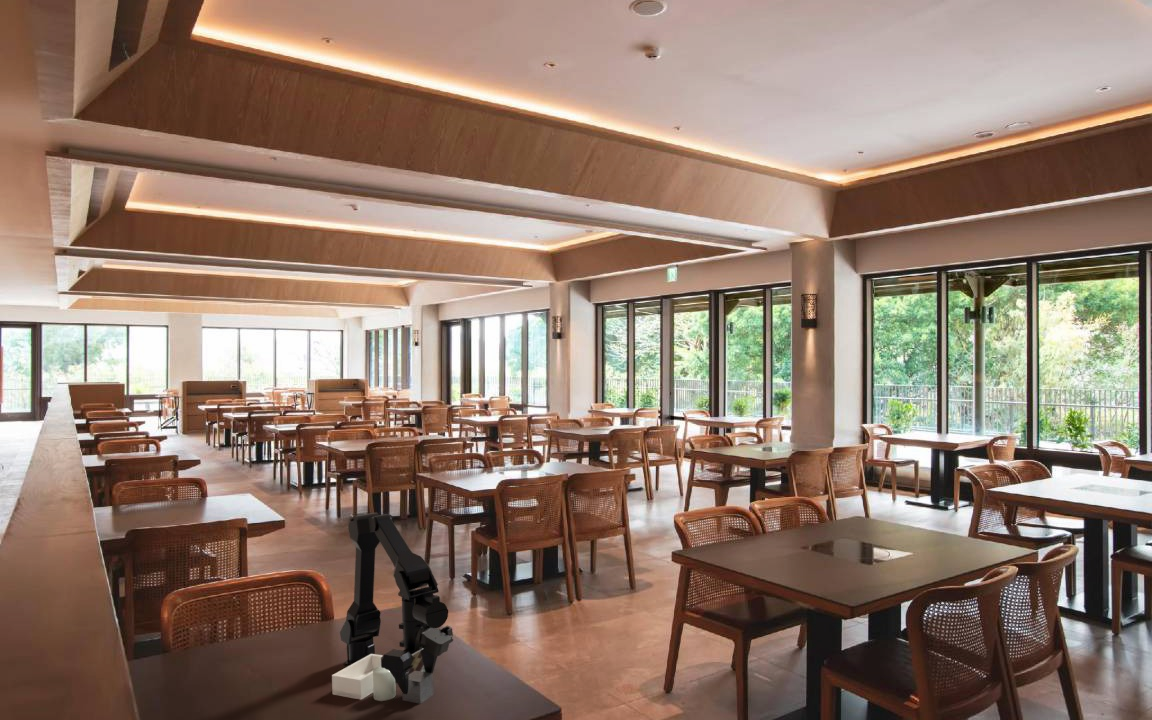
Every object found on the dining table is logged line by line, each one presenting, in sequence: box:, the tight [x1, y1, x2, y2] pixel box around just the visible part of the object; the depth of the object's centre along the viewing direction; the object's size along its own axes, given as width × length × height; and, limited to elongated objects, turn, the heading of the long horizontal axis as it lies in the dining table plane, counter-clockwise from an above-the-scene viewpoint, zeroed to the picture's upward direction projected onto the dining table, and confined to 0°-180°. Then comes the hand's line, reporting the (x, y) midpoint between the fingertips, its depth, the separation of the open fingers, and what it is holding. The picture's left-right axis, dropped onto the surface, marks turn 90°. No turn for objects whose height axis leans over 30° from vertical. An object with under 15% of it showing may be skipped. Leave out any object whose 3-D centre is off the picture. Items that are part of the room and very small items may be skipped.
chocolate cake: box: [395, 651, 425, 682], centre depth 187 cm, size 10×7×12 cm
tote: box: [331, 653, 384, 700], centre depth 180 cm, size 8×14×4 cm, turn 156°
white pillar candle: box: [373, 667, 397, 702], centre depth 174 cm, size 5×5×6 cm
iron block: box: [401, 671, 434, 704], centre depth 172 cm, size 5×5×5 cm
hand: (417, 685), depth 172 cm, fingers open, 9 cm apart
